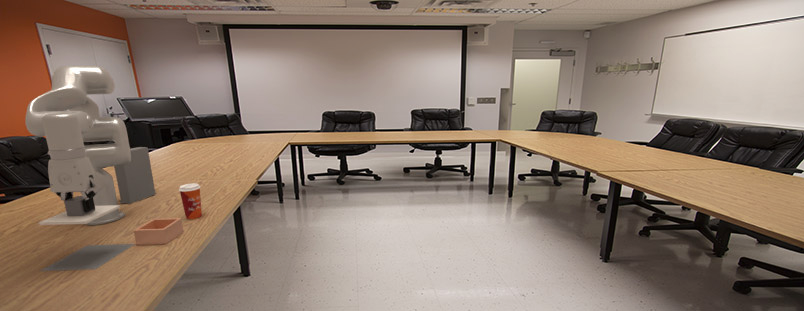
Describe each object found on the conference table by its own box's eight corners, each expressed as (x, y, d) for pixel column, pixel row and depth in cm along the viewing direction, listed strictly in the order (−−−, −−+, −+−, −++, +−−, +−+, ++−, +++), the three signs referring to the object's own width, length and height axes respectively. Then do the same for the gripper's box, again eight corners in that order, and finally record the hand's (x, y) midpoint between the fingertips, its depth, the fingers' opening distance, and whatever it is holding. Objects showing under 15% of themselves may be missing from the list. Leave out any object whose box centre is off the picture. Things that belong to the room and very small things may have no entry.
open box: (136, 246, 112) (133, 230, 111) (156, 233, 122) (153, 218, 120) (166, 245, 112) (163, 229, 111) (183, 232, 122) (181, 218, 121)
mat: (39, 272, 96) (39, 270, 96) (87, 246, 112) (87, 245, 112) (96, 270, 97) (95, 268, 97) (135, 245, 113) (135, 243, 113)
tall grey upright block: (145, 194, 168) (137, 147, 162) (156, 194, 167) (148, 147, 162) (119, 203, 154) (109, 152, 149) (130, 204, 153) (121, 152, 148)
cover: (39, 224, 95) (34, 206, 94) (79, 208, 108) (75, 191, 106) (85, 223, 96) (81, 205, 94) (120, 207, 108) (117, 191, 107)
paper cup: (194, 221, 133) (189, 188, 130) (178, 219, 134) (173, 187, 132) (208, 214, 140) (204, 183, 138) (193, 212, 142) (189, 182, 139)
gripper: (25, 157, 93) (40, 216, 97) (86, 156, 94) (99, 215, 98) (51, 152, 101) (64, 207, 104) (108, 151, 102) (119, 205, 106)
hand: (81, 210), depth 101 cm, fingers closed on cover, 4 cm apart
